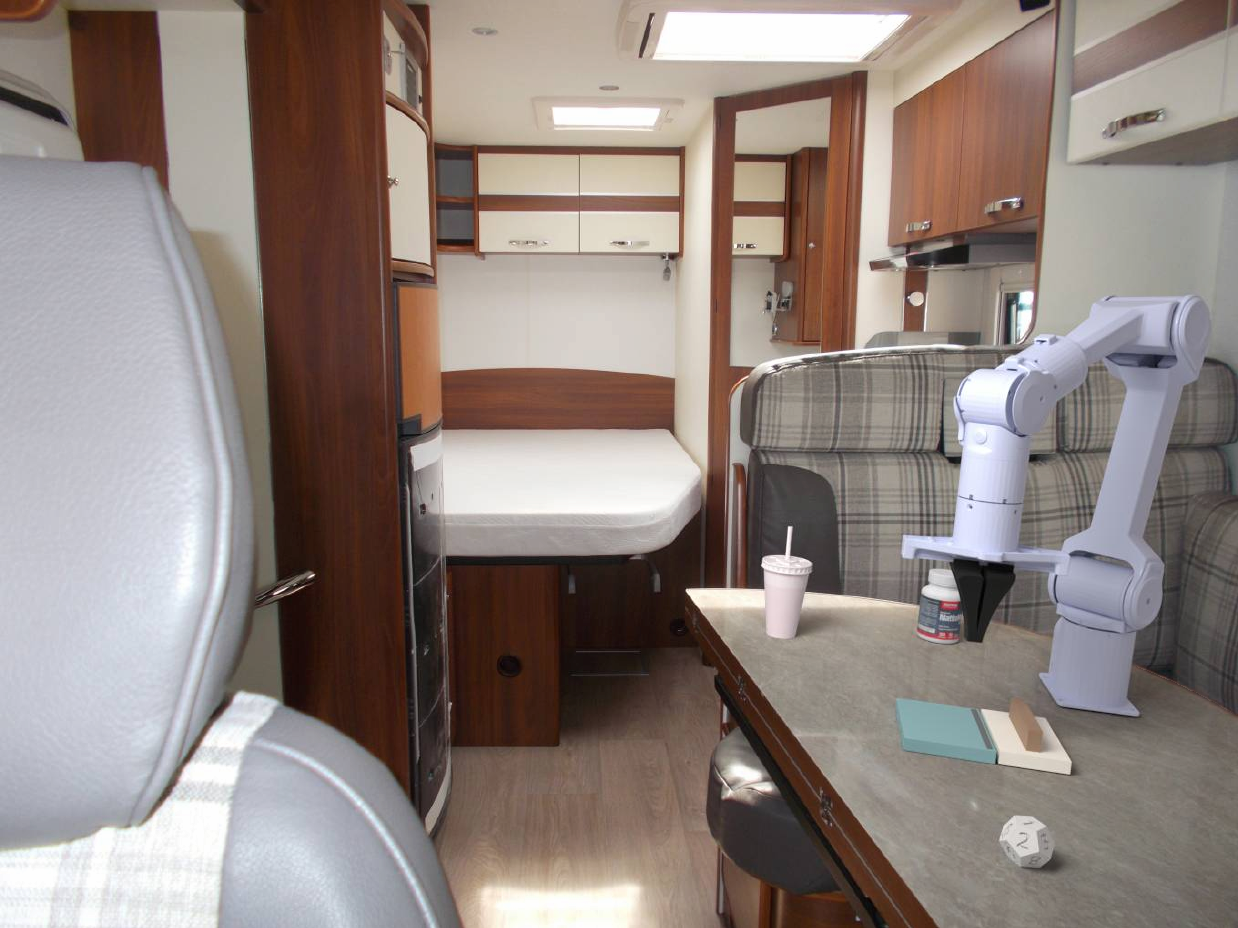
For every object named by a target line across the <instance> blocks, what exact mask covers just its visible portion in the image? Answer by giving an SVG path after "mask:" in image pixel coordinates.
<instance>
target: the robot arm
mask: <svg viewBox="0 0 1238 928" xmlns="http://www.w3.org/2000/svg"><path fill="white" fill-rule="evenodd" d="M1212 329H1213V328H1212V320H1211V314H1210V309H1209V307H1208V304H1207V303H1206V301H1205V300H1204V299H1203V297H1202V296H1201V295H1200V294H1186V295H1167V296H1166V295H1162V296H1161V295H1160V296H1159V295H1151V296H1148V295H1147V296H1146V295H1145V296H1144V295H1143V296H1139V295H1138V296H1130V295H1129V296H1118V295H1116V294H1111V295H1105V296H1104V297H1102V298H1101V299H1099V300H1097V301H1095V302H1093V303H1092V305H1091V308H1090V311H1089V313H1088V318H1087V319H1085V320H1084V321H1082V322H1081V323H1080V324H1079V325H1077V326H1076V327H1075V328H1074V329H1073V330H1071V331H1070V332H1069V333H1068V334H1066V335H1064V336H1062V335H1058V334H1057V335H1056V334H1054V333H1053V334H1050V333H1048V334H1047V333H1046V334H1045V333H1041V334H1039V335H1038V336H1036V337H1035V338H1033V342H1034V343H1033V344H1031V345H1029V346H1028V347H1026V348H1025V349H1024V350H1022V351H1021V352H1019V353H1017V354H1016V355H1013V354H1011V355H1010V356H1008V357H1007V358H1005V359H1004V362H1003V363H1001V364H1000V365H998V366H997V367H995V369H992V368H980V369H977V370H976V369H975V371H973V372H972V373H971V374H969V375H967V376H966V377H965V378H964V379H963V380H962V381H961V383H960V385H959V386H958V387H959V388H958V389H957V393H956V396H954V397H953V412H954V416H955V419H956V421H957V423H958V425H957V426H958V433H957V434H958V435H957V440H958V443H959V445H960V446H962V452H961V453H962V454H961V461H960V468H959V469H960V470H959V479H958V480H959V481H958V487H957V495H956V496H957V497H956V506H955V514H954V523H953V530H952V531H953V532H952V536H928V535H909V534H903V535H902V542H901V553H900V554H901V556H902V559H906V560H907V559H908V560H914V559H923V560H929V561H930V560H932V561H941V562H948V564H949V568H950V570H952V573H953V576H954V579H955V582H956V585H957V589H958V592H959V596H960V601H961V606H962V617H963V619H962V620H963V636H964V638H965V641H967V642H970V643H977V644H983V642H984V639H985V635H986V632H987V629H988V627H989V624H990V622H991V620H992V618H993V616H994V614H995V612H996V610H997V608H998V607H999V605H1000V604H1001V602H1002V601H1003V599H1004V597H1005V596H1006V595H1007V594H1008V592H1009V591H1010V590H1011V589H1012V587H1013V586H1014V584H1015V582H1016V577H1017V574H1016V573H1015V570H1024V571H1030V572H1031V571H1034V572H1042V573H1048V574H1049V575H1048V578H1047V591H1048V594H1049V598H1050V601H1051V602H1052V604H1053V605H1055V606H1056V609H1055V610H1056V611H1055V614H1057V615H1059V616H1060V618H1059V619H1058V620H1057V622H1056V623H1055V626H1054V629H1053V637H1052V643H1051V644H1052V645H1051V651H1050V658H1049V659H1050V660H1049V667H1048V672H1039V674H1038V677H1039V679H1040V680H1041V681H1042V683H1043V685H1044V686H1045V688H1047V690H1048V692H1049V693H1050V695H1051V696H1052V699H1053V700H1054V701H1055V702H1056V703H1055V704H1057V705H1058V706H1060V707H1063V708H1070V709H1071V708H1072V709H1078V710H1084V711H1085V710H1086V711H1094V712H1100V713H1108V714H1114V715H1122V716H1129V717H1130V716H1131V717H1139V716H1140V714H1141V713H1140V711H1139V710H1138V709H1137V708H1136V707H1135V705H1134V704H1133V702H1131V701H1130V700H1129V699H1128V691H1129V685H1130V677H1131V673H1132V672H1131V670H1132V666H1133V665H1132V664H1133V656H1134V651H1135V644H1136V636H1137V631H1139V630H1143V629H1145V628H1146V627H1147V626H1149V625H1150V624H1152V622H1153V621H1154V620H1155V618H1156V617H1157V615H1158V613H1159V611H1160V609H1161V606H1162V601H1163V594H1164V592H1163V579H1164V574H1165V566H1166V565H1165V563H1164V562H1163V560H1162V559H1161V558H1160V556H1159V555H1158V554H1157V553H1156V552H1155V551H1154V550H1153V548H1152V547H1151V546H1149V544H1148V543H1147V542H1146V540H1145V539H1144V533H1145V530H1146V527H1147V522H1148V518H1149V515H1150V512H1151V507H1152V504H1153V500H1154V497H1155V492H1156V488H1157V485H1158V482H1159V478H1160V474H1161V471H1162V466H1163V463H1164V459H1165V456H1166V452H1167V448H1168V445H1169V441H1170V437H1171V434H1172V429H1173V425H1174V422H1175V420H1176V419H1175V418H1176V414H1177V411H1178V408H1179V404H1180V400H1181V398H1182V393H1183V390H1184V387H1185V386H1187V385H1189V384H1191V383H1193V382H1195V381H1197V380H1198V379H1199V375H1200V372H1201V369H1202V367H1203V364H1204V360H1205V358H1206V354H1207V350H1208V347H1209V342H1210V338H1211V335H1212ZM1100 360H1101V361H1102V363H1103V364H1104V366H1105V367H1106V369H1107V370H1108V372H1109V374H1110V375H1111V376H1112V377H1115V378H1117V379H1118V380H1120V381H1122V382H1123V383H1124V385H1125V387H1126V393H1125V398H1124V401H1123V405H1122V409H1121V411H1120V415H1119V416H1120V417H1119V420H1118V424H1117V428H1116V430H1115V433H1114V435H1115V436H1114V439H1113V441H1112V445H1111V449H1110V454H1109V456H1108V461H1107V463H1106V464H1107V465H1106V468H1105V472H1104V476H1103V480H1102V482H1101V486H1100V490H1099V495H1098V497H1097V498H1098V499H1097V500H1096V504H1095V505H1096V506H1095V509H1094V511H1093V517H1092V521H1091V524H1090V526H1089V528H1087V529H1085V530H1083V531H1081V532H1079V533H1077V534H1075V535H1072V536H1070V537H1068V538H1066V539H1065V540H1064V542H1063V544H1062V547H1061V549H1060V550H1057V549H1056V550H1055V549H1050V548H1049V549H1047V548H1042V547H1035V546H1030V545H1024V544H1019V542H1020V541H1019V539H1020V532H1021V523H1022V516H1023V511H1024V510H1023V509H1024V501H1025V493H1026V486H1027V484H1026V483H1027V477H1028V476H1027V475H1028V467H1029V461H1030V453H1031V446H1032V445H1031V444H1032V438H1033V437H1032V436H1033V435H1035V434H1036V433H1040V431H1042V429H1043V428H1044V426H1045V424H1046V422H1047V421H1048V418H1049V415H1050V413H1051V411H1052V410H1054V409H1055V406H1056V405H1057V402H1059V401H1060V400H1062V399H1063V398H1064V397H1066V396H1067V395H1068V394H1070V393H1072V392H1073V391H1074V390H1075V389H1077V388H1079V387H1080V386H1081V385H1083V383H1084V382H1085V380H1086V379H1087V376H1088V373H1089V367H1090V366H1091V365H1093V364H1095V363H1097V362H1098V361H1100ZM1095 557H1102V558H1106V559H1110V560H1115V561H1119V562H1124V563H1128V564H1130V567H1129V566H1125V565H1121V564H1118V563H1117V564H1116V563H1112V562H1109V561H1104V560H1100V559H1097V558H1095Z"/></svg>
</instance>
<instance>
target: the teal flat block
mask: <svg viewBox="0 0 1238 928" xmlns="http://www.w3.org/2000/svg"><path fill="white" fill-rule="evenodd" d="M894 710H895V715H896V720H897V725H898V730H899V731H898V732H899V735H900V736H899V737H900V740H901V747H902V751H905V752H906V751H907V752H912V753H913V752H914V753H919V754H924V755H925V754H926V755H931V756H938V757H943V758H944V757H946V758H951V759H958V760H965V761H971V762H977V763H978V762H979V763H984V764H991V765H996V760H997V759H996V750H995V747H994V745H993V743H992V740H991V738H990V736H989V733H988V731H987V729H986V726H985V724H984V722H983V719H982V717H981V711H980V709H978V708H972V707H966V706H964V707H963V706H957V705H950V704H943V703H937V702H936V703H935V702H929V701H922V700H916V699H914V700H913V699H908V698H901V697H895V707H894Z"/></svg>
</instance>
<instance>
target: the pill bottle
mask: <svg viewBox="0 0 1238 928" xmlns="http://www.w3.org/2000/svg"><path fill="white" fill-rule="evenodd" d="M927 580H928V582H929V584H927V585H925V586H923V588H922V589H921V593H920V601H919V607H918V608H919V609H918V618H917V627H916V635H917V636H918V637H919V638H920V639H922V640H924V641H927V642H929V643H935V644H942V645H953V644H956V643H958V642H959V640H960V634H961V626H962V620H963V619H962V617H963V611H962V606H961V601H960V596H959V592H958V589H957V585H956V582H955V579H954V576H953V573H952V570H951V569H947V568H931V569H929V571H928V579H927Z"/></svg>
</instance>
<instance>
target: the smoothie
mask: <svg viewBox="0 0 1238 928" xmlns="http://www.w3.org/2000/svg"><path fill="white" fill-rule="evenodd" d="M793 528H794V527H793V526H792V525H791V526H790V525H788V526H787V537H786V547H785V554H770V555H765V556H763V557H762V558H761V559H762V560H761V565H760V566H761V568H762V569H763V583H764V584H763V585H764V609H765V634H766V635H767V636H769V637H771V638H773V639H774V638H775V639H781V640H789V639H794V638H795V637H796V634H797V630H798V626H799V620H800V616H801V611H802V607H803V602H804V600H805V599H804V598H805V594H806V589H807V585H808V582H809V581H808V580H809V576H810V574H811V573H812V572H813V562H811V561H810V560H808V559H805V558H803V557H799V556H794V555H791V551H792V550H791V548H792V539H793V538H792V537H793Z"/></svg>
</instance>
